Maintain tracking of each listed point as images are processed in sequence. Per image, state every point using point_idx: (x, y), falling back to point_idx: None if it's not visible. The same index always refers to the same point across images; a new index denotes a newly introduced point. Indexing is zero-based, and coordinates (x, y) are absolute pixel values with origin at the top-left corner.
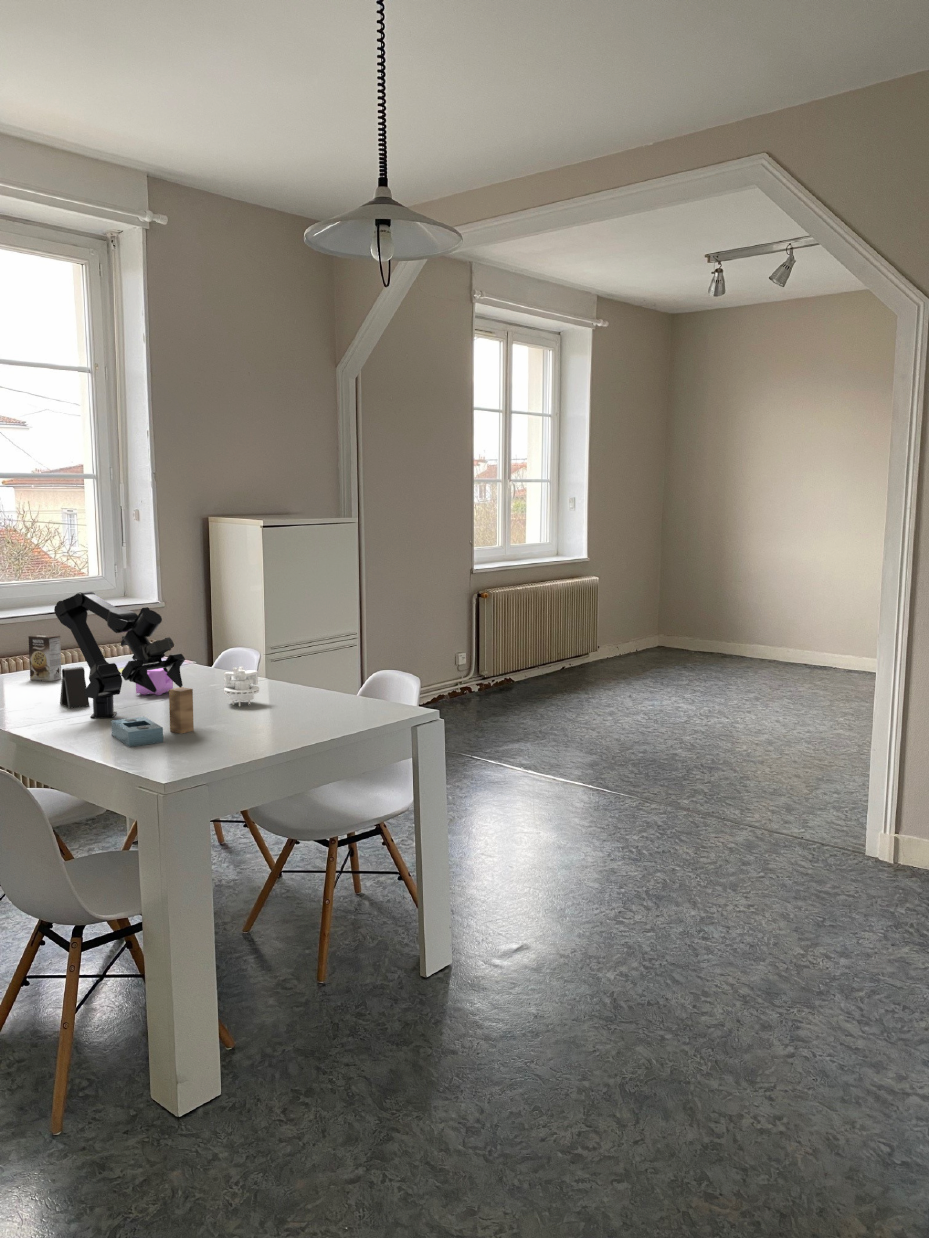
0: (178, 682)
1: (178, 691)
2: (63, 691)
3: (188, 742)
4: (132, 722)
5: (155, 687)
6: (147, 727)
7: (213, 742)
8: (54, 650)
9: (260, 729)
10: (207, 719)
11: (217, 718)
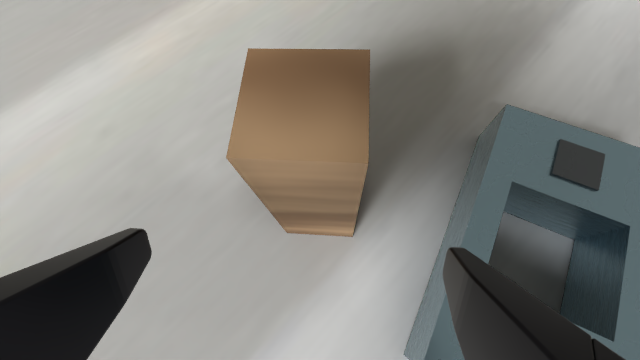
0: (115, 271)
1: (368, 66)
2: None
3: (425, 74)
4: None
5: (461, 260)
6: (564, 144)
7: (379, 25)
8: None
9: (188, 26)
10: None
11: (82, 242)
